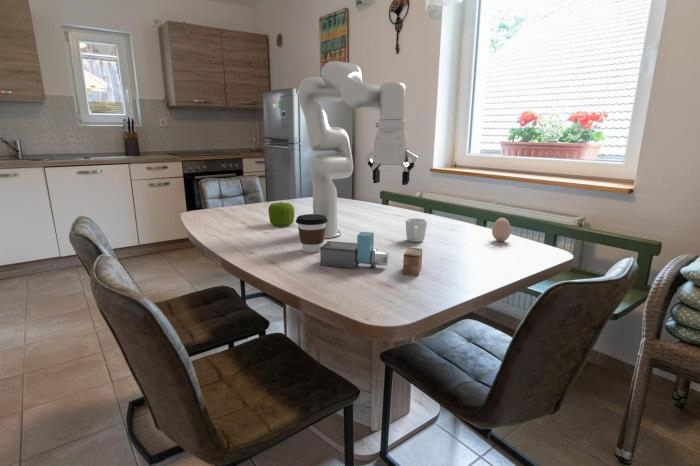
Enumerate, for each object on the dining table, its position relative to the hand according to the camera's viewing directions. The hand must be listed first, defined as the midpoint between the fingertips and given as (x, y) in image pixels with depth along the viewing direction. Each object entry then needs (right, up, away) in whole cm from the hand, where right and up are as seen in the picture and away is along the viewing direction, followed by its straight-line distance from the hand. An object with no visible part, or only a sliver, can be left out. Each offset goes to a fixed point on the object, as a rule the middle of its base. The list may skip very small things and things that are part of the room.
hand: (390, 183), depth 124 cm
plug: (-11, -25, 0) cm, 27 cm away
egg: (+45, -19, +28) cm, 56 cm away
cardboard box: (+6, -27, -4) cm, 28 cm away
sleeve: (-15, -25, +2) cm, 29 cm away
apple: (-43, -12, +53) cm, 69 cm away
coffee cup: (-26, -22, +16) cm, 37 cm away
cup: (+12, -19, +27) cm, 35 cm away
